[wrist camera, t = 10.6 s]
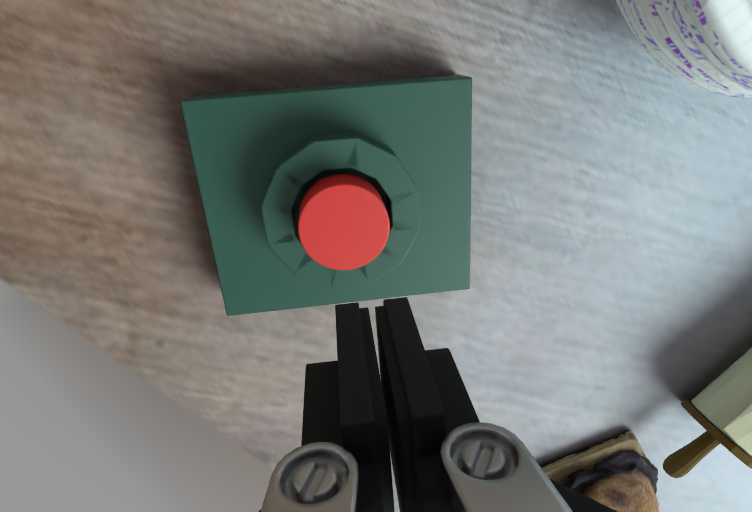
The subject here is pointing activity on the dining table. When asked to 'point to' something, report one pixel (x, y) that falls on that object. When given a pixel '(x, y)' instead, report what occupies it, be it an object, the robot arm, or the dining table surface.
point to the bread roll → (611, 475)
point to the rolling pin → (719, 418)
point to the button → (343, 222)
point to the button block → (327, 157)
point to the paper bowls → (697, 40)
